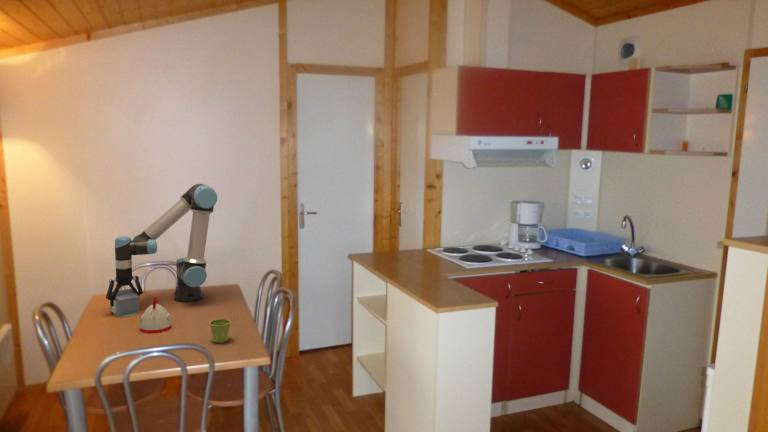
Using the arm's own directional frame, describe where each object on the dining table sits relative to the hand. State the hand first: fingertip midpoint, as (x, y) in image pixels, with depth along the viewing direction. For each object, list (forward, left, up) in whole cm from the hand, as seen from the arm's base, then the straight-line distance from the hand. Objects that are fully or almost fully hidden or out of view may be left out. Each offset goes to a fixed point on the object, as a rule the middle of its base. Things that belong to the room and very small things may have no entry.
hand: (125, 310), depth 291 cm
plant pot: (-66, +22, -2) cm, 70 cm away
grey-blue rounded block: (+1, -1, 0) cm, 2 cm away
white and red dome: (-29, +16, -2) cm, 33 cm away
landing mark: (0, 0, -1) cm, 2 cm away
